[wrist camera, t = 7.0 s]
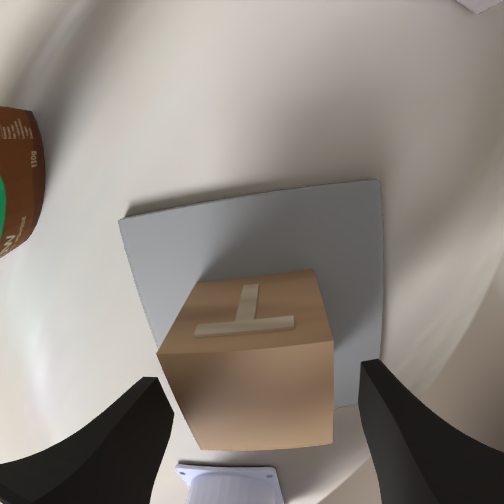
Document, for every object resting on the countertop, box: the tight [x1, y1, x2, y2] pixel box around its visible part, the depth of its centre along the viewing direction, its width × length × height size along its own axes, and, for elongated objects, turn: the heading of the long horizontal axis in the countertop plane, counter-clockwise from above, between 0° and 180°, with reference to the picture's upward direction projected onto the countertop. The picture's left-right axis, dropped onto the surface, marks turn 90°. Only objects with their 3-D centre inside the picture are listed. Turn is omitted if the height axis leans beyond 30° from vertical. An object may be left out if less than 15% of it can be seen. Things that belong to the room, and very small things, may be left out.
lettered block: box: [157, 269, 334, 451], centre depth 11 cm, size 5×5×5 cm
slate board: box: [118, 179, 384, 408], centre depth 14 cm, size 12×11×1 cm
